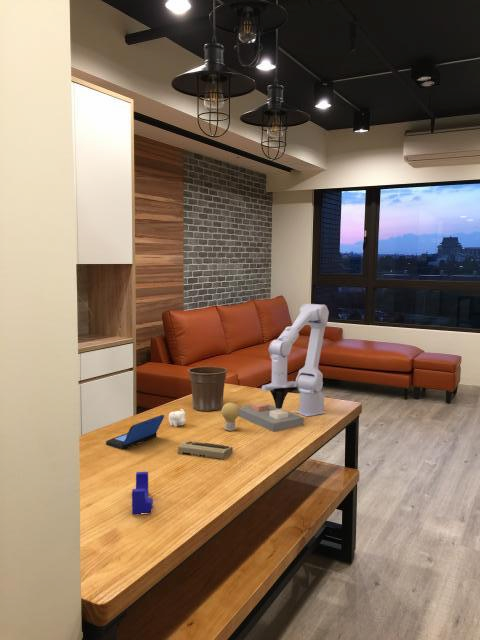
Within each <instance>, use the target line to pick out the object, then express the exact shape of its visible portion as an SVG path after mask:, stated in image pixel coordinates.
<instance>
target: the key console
mask: <svg viewBox="0 0 480 640" xmlns="http://www.w3.org/2000/svg"><path fill="white" fill-rule="evenodd" d="M264 403H265V404H268V405H269V410H265V411H260V412H258V411H256V410H253V409H251V405H246V406H241V407H238V408H239V415H238V417H240V418H241V419H244V420H247V421H248V422H250V423H253V424H255V425H257V426H259V427H262V428H264V429H267V430H269V431H270V432H274V433H275V432H278V431H282V430H283V431H284V430H287V429H291V428H292V429H294V428H298V427H302V426H304V418H305V417H304V416H302V415H298V414H296V413H293V412H290V411H287V410H286V409H284V408H281V410H284V411H286V412H288V417H287V418H282V419H275V418H273V417H270V416H269V411H273V410H278V408H276V406H274V405H272V404H270V403H267V402H264Z"/></svg>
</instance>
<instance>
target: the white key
mask: <svg viewBox="0 0 480 640" xmlns="http://www.w3.org/2000/svg"><path fill="white" fill-rule="evenodd" d="M281 409H282V408H281ZM281 409H278V410H273V411H269V416H270V417H273V418H275V419H282V418H287V417H288V412H289V411H288V412H286V411H287V410H285V409H283V410H281ZM284 410H285V411H284Z"/></svg>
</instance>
